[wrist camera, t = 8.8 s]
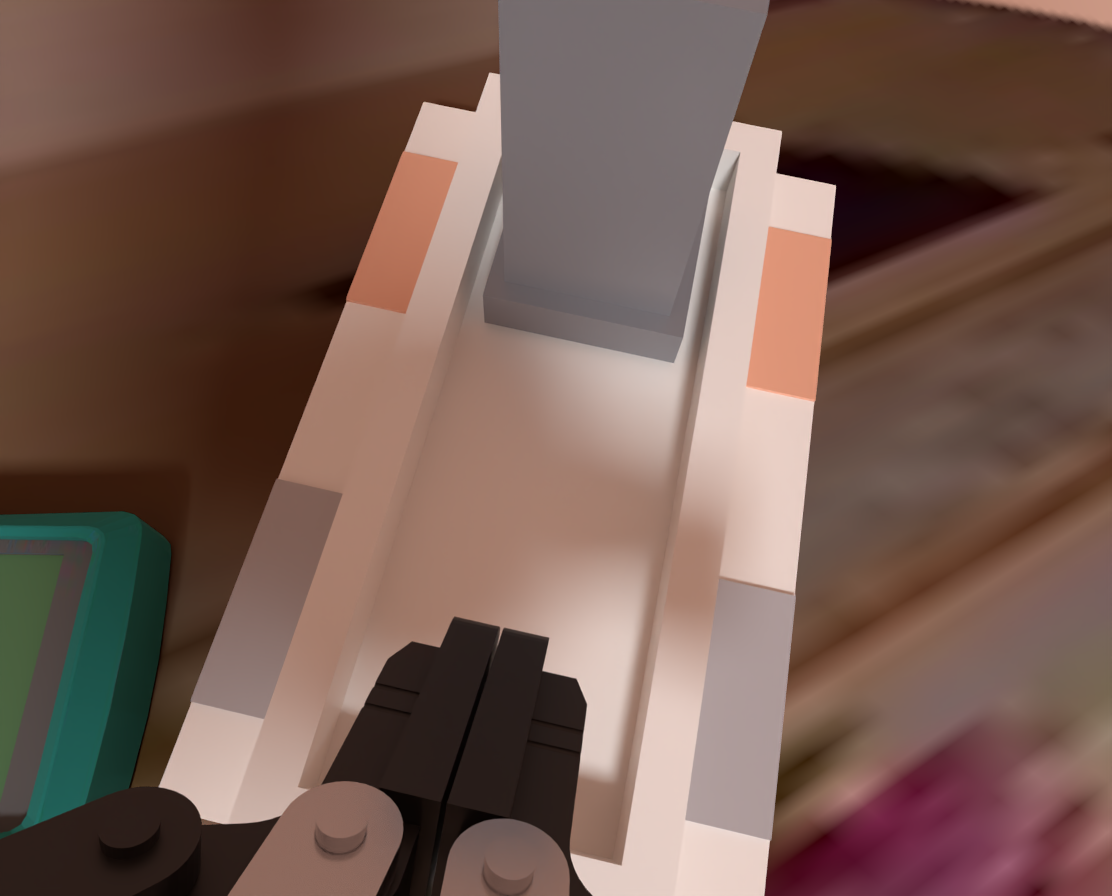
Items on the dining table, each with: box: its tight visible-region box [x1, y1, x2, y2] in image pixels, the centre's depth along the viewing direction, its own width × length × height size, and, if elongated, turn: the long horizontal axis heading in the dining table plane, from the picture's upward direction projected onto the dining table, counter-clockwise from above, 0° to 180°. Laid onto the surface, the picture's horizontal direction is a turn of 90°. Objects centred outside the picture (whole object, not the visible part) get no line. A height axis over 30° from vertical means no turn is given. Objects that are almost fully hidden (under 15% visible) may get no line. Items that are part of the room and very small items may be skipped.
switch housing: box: [159, 73, 836, 896], centre depth 19 cm, size 12×19×4 cm, turn 168°
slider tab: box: [483, 0, 769, 363], centre depth 17 cm, size 5×5×9 cm
